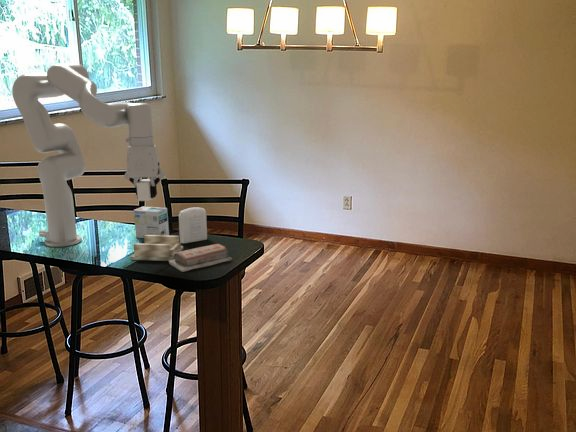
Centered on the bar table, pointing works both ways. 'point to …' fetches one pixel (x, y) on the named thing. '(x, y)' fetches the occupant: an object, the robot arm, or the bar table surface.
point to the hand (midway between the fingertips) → (146, 196)
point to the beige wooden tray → (157, 248)
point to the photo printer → (192, 225)
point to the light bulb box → (151, 221)
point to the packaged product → (200, 257)
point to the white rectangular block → (144, 190)
